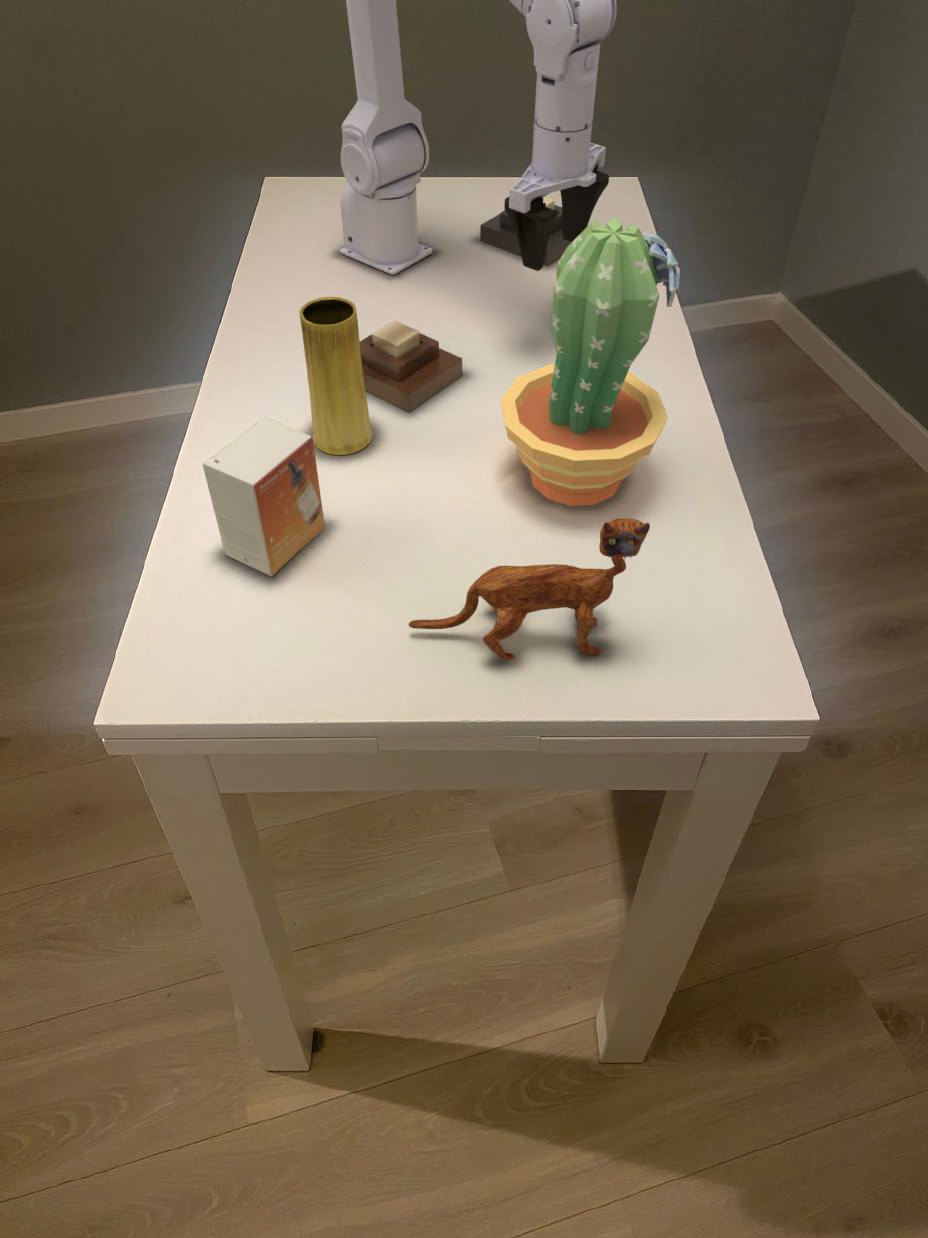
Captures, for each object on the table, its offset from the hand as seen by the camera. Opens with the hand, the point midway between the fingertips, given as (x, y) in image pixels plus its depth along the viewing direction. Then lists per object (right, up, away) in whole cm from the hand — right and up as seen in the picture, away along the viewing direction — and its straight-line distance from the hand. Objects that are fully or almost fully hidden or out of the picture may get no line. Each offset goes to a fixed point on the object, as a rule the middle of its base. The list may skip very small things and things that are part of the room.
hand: (552, 253), depth 102 cm
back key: (0, +13, +20) cm, 24 cm away
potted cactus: (+1, -26, -10) cm, 28 cm away
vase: (-22, -21, -6) cm, 31 cm away
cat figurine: (-5, -41, -24) cm, 48 cm away
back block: (0, +11, +23) cm, 25 cm away
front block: (-17, -13, +1) cm, 21 cm away
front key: (-17, -10, -1) cm, 20 cm away
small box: (-27, -33, -16) cm, 46 cm away
